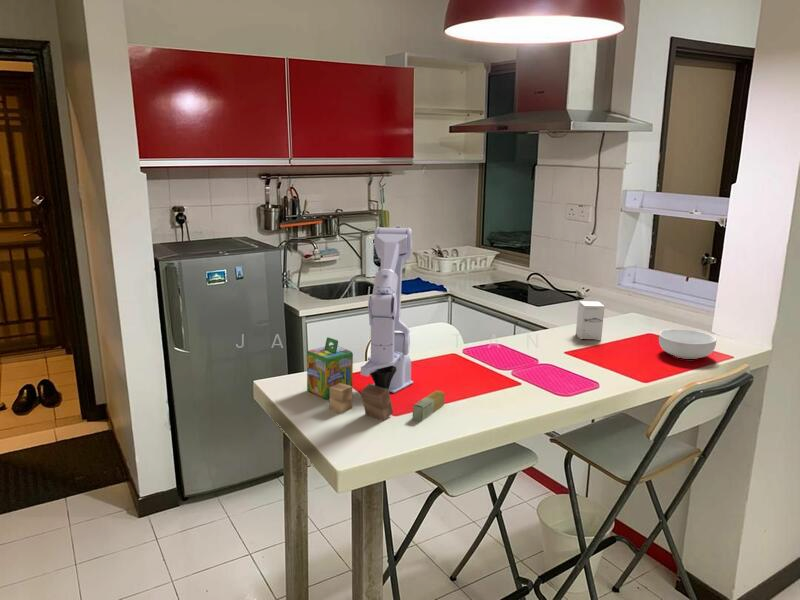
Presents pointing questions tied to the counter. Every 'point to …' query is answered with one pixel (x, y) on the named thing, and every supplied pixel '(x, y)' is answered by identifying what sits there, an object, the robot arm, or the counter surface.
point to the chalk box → (328, 368)
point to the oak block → (340, 398)
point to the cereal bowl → (687, 343)
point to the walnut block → (376, 401)
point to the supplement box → (590, 320)
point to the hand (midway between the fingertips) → (382, 394)
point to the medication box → (428, 405)
